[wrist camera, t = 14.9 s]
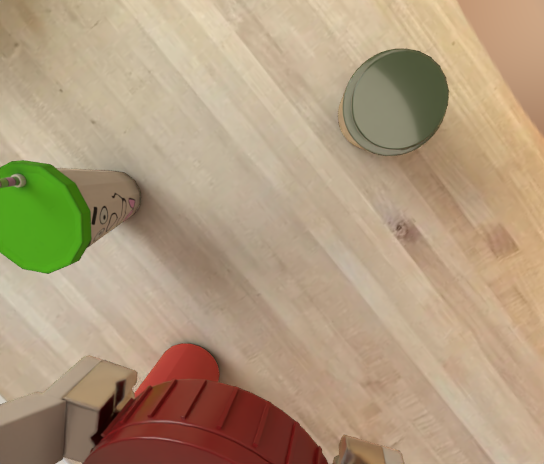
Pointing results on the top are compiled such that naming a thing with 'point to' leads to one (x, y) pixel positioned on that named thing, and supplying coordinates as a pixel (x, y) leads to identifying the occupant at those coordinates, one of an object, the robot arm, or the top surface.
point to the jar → (394, 102)
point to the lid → (203, 429)
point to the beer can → (182, 366)
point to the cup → (59, 212)
